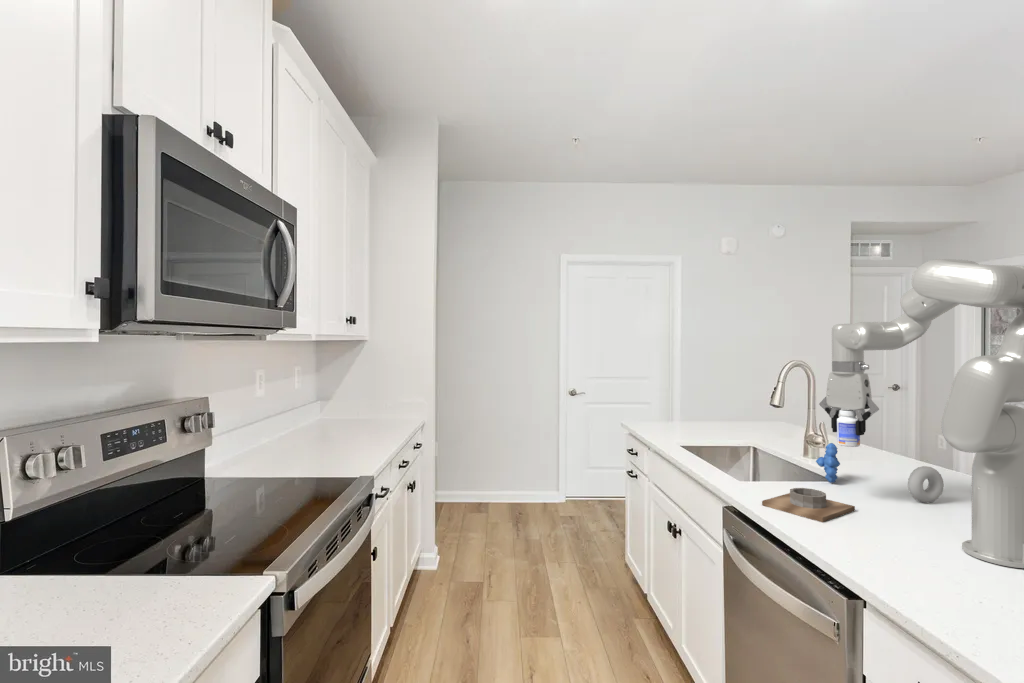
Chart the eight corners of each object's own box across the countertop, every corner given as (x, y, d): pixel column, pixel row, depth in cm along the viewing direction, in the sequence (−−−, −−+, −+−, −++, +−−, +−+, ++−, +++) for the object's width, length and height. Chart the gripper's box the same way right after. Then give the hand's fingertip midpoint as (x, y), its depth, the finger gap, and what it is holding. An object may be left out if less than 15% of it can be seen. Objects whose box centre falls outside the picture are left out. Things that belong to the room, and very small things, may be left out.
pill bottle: (863, 447, 144) (863, 411, 144) (842, 447, 145) (842, 411, 145) (854, 443, 149) (854, 409, 149) (833, 443, 150) (833, 409, 150)
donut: (935, 499, 149) (935, 464, 149) (947, 503, 145) (947, 466, 145) (904, 501, 147) (904, 465, 147) (915, 505, 144) (915, 468, 144)
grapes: (816, 475, 175) (816, 439, 175) (840, 478, 171) (840, 441, 171) (814, 483, 165) (814, 445, 165) (840, 487, 161) (840, 447, 161)
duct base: (854, 510, 139) (854, 494, 139) (822, 522, 131) (822, 505, 131) (794, 495, 153) (794, 481, 153) (762, 505, 144) (762, 489, 144)
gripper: (889, 368, 142) (889, 436, 142) (823, 366, 156) (823, 428, 156) (875, 369, 138) (876, 439, 138) (809, 367, 152) (809, 430, 152)
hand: (848, 432), depth 147 cm, fingers closed on pill bottle, 5 cm apart
